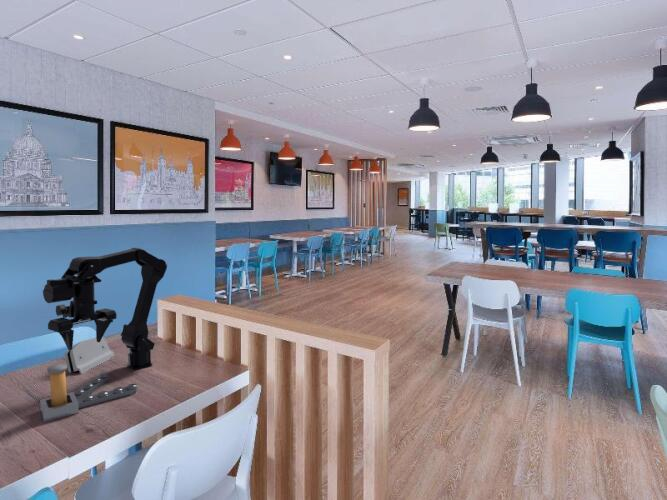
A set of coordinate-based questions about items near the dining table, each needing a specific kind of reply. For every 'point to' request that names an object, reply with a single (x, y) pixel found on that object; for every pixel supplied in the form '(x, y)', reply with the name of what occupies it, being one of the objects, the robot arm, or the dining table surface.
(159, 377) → the dining table surface
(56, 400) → the pin
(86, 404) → the grey forked bracket
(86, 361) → the hinge
